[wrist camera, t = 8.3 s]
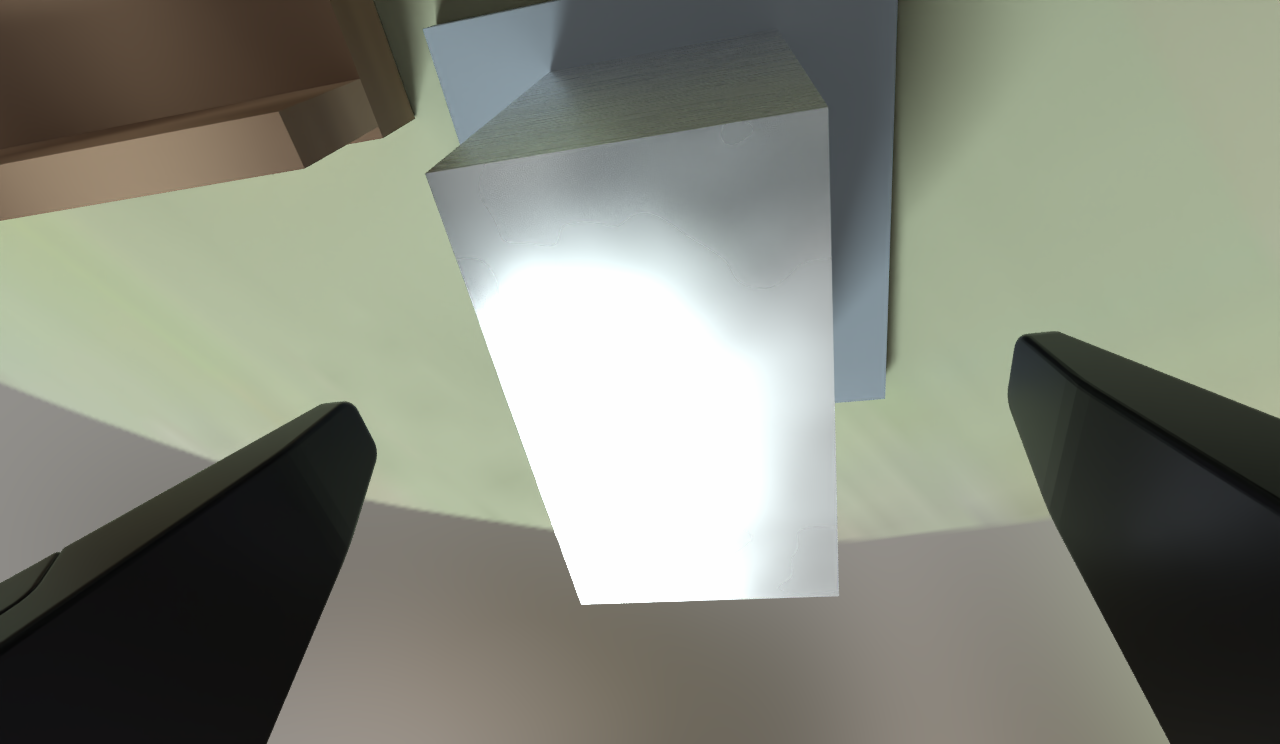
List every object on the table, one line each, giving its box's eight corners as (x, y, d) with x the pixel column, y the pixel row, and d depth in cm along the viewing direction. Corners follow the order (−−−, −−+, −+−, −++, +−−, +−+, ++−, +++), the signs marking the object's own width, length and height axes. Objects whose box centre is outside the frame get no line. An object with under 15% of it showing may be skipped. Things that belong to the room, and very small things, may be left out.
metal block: (776, 28, 11) (828, 106, 6) (797, 372, 15) (839, 595, 10) (550, 71, 12) (425, 173, 7) (625, 387, 15) (580, 603, 10)
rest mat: (891, -70, 10) (900, -71, 10) (879, 383, 15) (884, 398, 15) (434, 24, 12) (422, 29, 11) (556, 411, 17) (551, 426, 16)
